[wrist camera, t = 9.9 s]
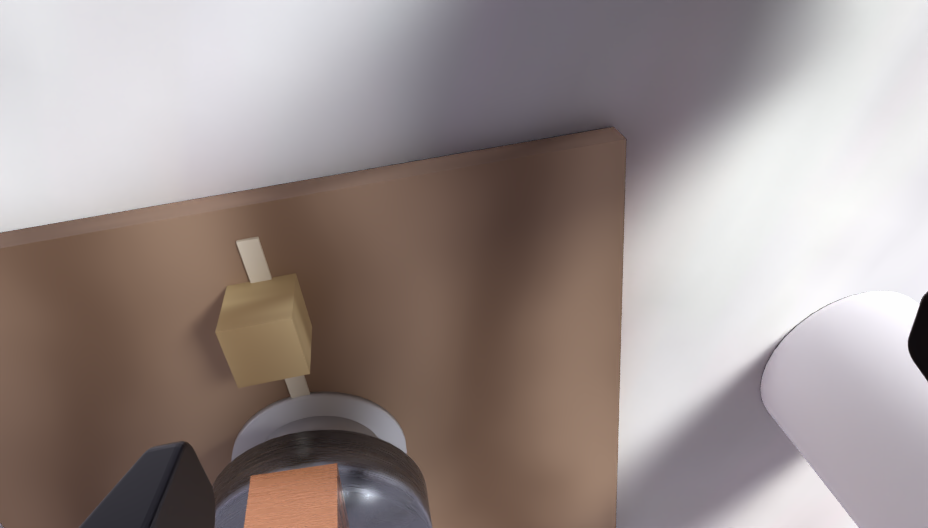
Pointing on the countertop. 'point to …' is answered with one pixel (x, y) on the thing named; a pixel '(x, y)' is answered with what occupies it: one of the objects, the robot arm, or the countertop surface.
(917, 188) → the countertop surface
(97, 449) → the post board
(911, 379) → the cylindrical container
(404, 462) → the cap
